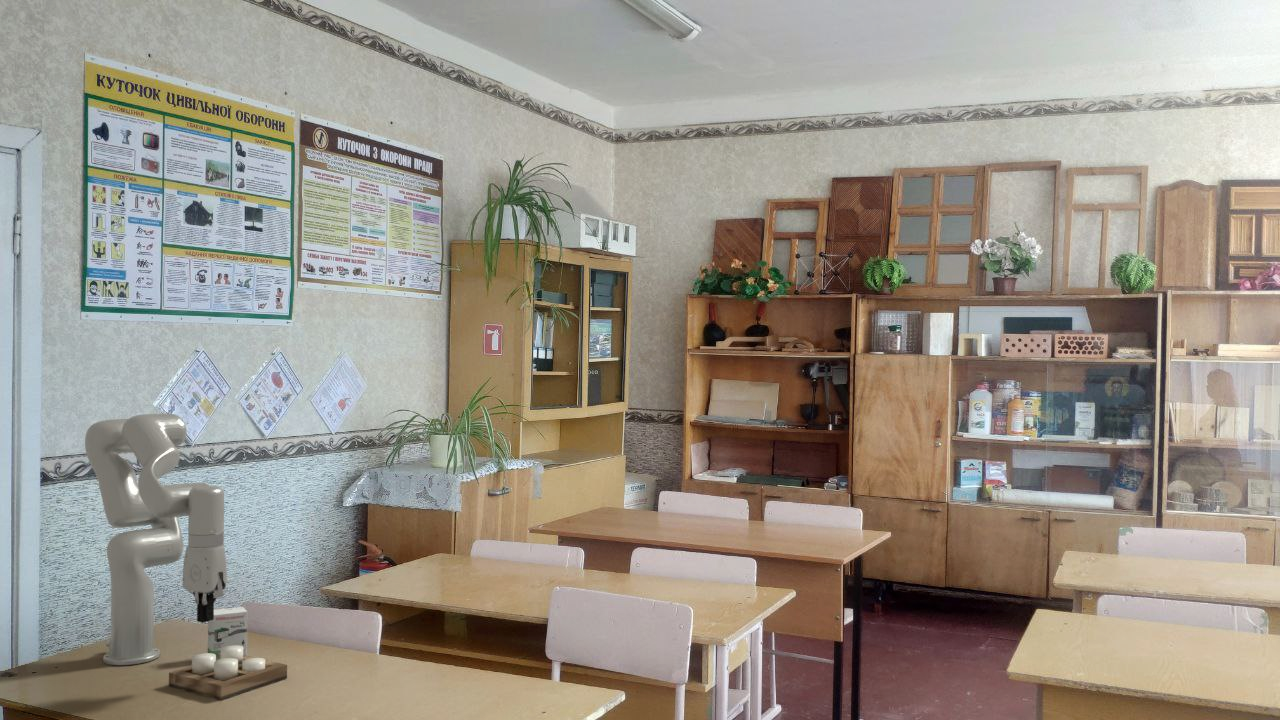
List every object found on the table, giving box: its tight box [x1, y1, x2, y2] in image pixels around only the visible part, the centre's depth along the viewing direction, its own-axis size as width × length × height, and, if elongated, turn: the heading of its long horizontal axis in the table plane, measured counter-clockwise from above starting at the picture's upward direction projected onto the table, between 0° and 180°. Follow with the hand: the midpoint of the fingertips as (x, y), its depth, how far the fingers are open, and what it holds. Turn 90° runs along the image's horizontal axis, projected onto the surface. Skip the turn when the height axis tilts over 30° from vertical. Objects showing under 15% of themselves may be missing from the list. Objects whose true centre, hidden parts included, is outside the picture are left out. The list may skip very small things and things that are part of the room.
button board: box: [168, 655, 288, 701], centre depth 234 cm, size 18×18×3 cm
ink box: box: [207, 606, 248, 659], centre depth 254 cm, size 9×5×12 cm, turn 123°
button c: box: [214, 658, 238, 680], centre depth 229 cm, size 5×5×4 cm
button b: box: [220, 645, 243, 665], centre depth 240 cm, size 5×5×4 cm
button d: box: [242, 657, 266, 673], centre depth 236 cm, size 5×5×4 cm
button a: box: [191, 652, 216, 675], centre depth 233 cm, size 5×5×4 cm
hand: (205, 620), depth 233 cm, fingers closed
